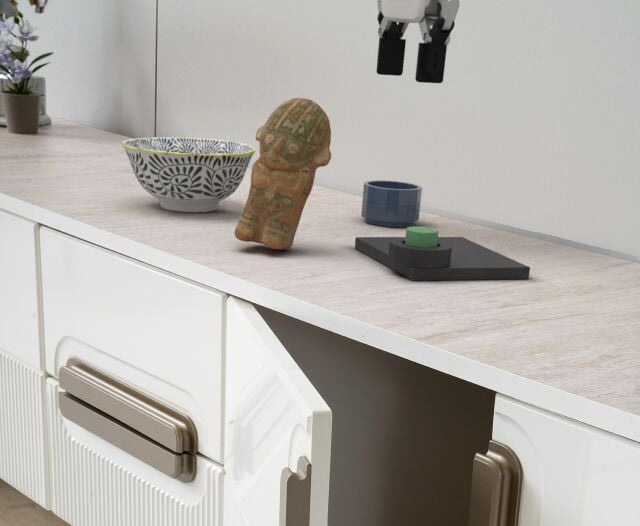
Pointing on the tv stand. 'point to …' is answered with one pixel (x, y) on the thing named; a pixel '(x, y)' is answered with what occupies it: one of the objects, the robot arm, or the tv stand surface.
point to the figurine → (284, 172)
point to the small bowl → (391, 203)
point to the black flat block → (442, 259)
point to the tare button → (421, 237)
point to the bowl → (188, 170)
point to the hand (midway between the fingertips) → (408, 78)
